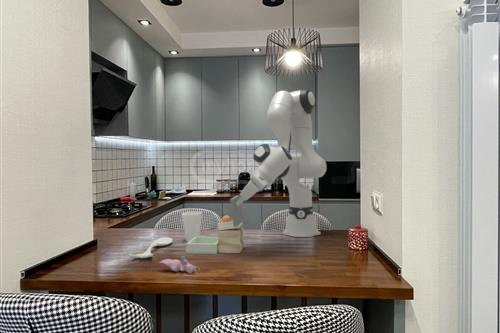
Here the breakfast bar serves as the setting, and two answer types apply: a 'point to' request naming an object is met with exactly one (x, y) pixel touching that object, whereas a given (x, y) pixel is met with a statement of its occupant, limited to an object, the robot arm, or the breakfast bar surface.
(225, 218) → the ball
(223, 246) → the stand
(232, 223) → the lever flap
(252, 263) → the breakfast bar surface
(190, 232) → the foam cup
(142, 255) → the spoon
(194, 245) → the tray
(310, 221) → the robot arm
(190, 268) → the rabbit figure
